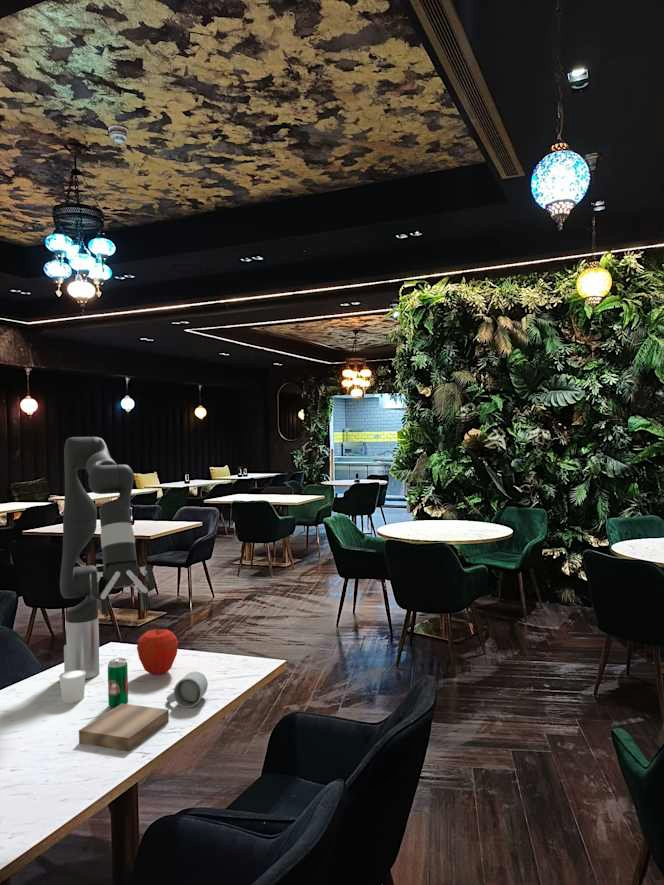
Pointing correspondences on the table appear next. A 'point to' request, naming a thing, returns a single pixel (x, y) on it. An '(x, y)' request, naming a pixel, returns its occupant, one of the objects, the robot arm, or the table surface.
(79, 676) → the white cup
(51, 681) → the table surface
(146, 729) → the walnut plate
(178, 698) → the ceramic mug
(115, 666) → the soda can
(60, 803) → the table surface
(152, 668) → the apple
